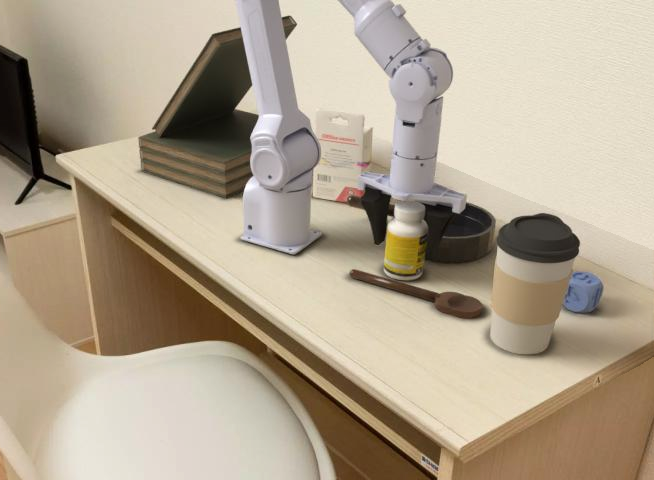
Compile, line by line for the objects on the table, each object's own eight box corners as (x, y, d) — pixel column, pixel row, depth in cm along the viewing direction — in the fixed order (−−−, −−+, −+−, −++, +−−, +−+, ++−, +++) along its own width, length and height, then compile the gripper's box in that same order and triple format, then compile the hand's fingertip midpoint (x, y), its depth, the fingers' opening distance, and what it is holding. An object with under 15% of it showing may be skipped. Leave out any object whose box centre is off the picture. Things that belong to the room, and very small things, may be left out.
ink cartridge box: (370, 195, 132) (376, 107, 124) (360, 206, 128) (366, 115, 120) (322, 187, 135) (325, 100, 127) (311, 197, 131) (313, 108, 123)
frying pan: (378, 248, 115) (380, 223, 113) (418, 215, 126) (420, 191, 124) (471, 273, 110) (475, 247, 107) (504, 236, 120) (509, 211, 118)
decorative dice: (585, 316, 100) (592, 289, 98) (556, 305, 102) (562, 278, 100) (599, 305, 103) (606, 278, 101) (571, 294, 105) (577, 267, 103)
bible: (227, 138, 155) (222, 1, 142) (308, 160, 146) (311, 16, 132) (140, 171, 139) (126, 20, 126) (225, 198, 130) (220, 38, 116)
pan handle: (344, 206, 123) (345, 196, 122) (349, 203, 124) (350, 192, 123) (399, 220, 119) (400, 209, 118) (404, 216, 120) (405, 205, 119)
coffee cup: (543, 368, 90) (570, 249, 82) (469, 344, 94) (487, 228, 86) (567, 333, 97) (593, 219, 89) (496, 312, 101) (515, 201, 93)
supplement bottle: (421, 283, 107) (428, 216, 101) (381, 279, 107) (386, 212, 102) (424, 265, 111) (431, 200, 106) (385, 261, 112) (391, 196, 107)
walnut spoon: (342, 282, 106) (342, 274, 106) (357, 269, 110) (357, 262, 109) (473, 321, 99) (475, 313, 98) (486, 306, 102) (487, 298, 101)
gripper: (348, 149, 100) (343, 247, 108) (456, 173, 94) (443, 274, 101) (373, 135, 105) (367, 228, 113) (477, 156, 99) (463, 253, 107)
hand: (405, 249), depth 107 cm, fingers open, 7 cm apart
